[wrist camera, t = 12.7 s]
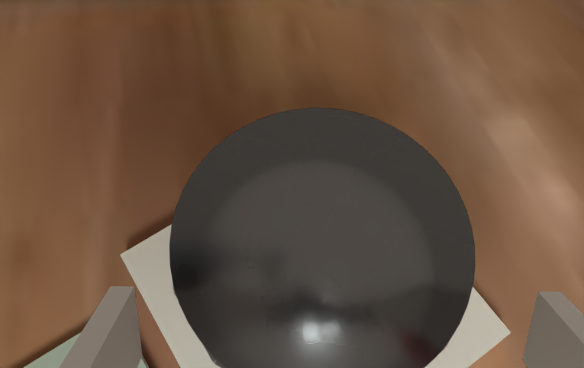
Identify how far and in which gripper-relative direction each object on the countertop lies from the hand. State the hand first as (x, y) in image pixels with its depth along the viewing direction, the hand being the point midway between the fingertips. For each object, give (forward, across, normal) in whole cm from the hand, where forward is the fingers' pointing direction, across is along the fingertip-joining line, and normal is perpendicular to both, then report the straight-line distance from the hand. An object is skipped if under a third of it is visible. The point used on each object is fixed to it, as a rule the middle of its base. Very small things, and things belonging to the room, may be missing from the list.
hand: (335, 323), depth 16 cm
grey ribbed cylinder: (+9, 0, -5) cm, 10 cm away
